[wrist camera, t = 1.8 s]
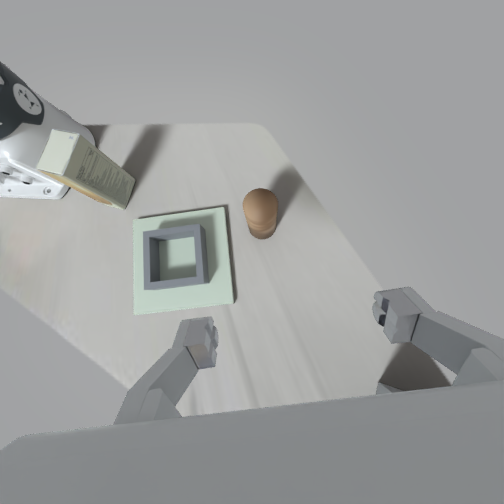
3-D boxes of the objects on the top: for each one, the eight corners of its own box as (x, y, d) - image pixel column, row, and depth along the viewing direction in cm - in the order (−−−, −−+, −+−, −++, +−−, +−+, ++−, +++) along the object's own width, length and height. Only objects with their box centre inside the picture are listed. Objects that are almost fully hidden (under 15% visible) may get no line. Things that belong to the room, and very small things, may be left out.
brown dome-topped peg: (250, 240, 36) (244, 223, 27) (247, 215, 37) (240, 191, 28) (277, 237, 36) (280, 218, 27) (273, 212, 37) (275, 186, 28)
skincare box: (116, 175, 41) (52, 125, 29) (137, 179, 40) (80, 130, 28) (103, 206, 39) (31, 168, 27) (124, 211, 39) (60, 175, 27)
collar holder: (137, 314, 35) (120, 317, 31) (136, 221, 38) (121, 213, 34) (234, 303, 34) (229, 304, 30) (225, 209, 38) (219, 199, 34)
